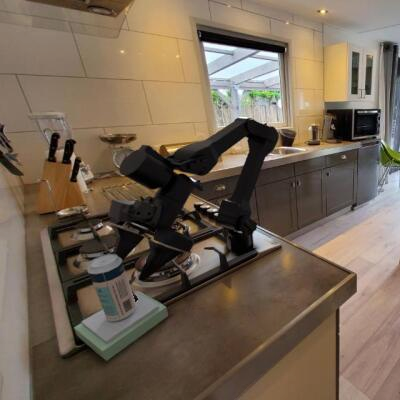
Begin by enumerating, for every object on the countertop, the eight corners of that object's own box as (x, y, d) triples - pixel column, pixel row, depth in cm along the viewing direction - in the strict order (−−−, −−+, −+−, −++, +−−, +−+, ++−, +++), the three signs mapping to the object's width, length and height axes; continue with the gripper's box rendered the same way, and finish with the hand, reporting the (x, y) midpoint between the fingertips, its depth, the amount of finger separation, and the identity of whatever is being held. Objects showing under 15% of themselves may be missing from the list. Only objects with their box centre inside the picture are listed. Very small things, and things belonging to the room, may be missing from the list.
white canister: (138, 300, 51) (122, 250, 47) (136, 316, 47) (118, 263, 43) (109, 308, 49) (89, 256, 44) (103, 326, 45) (81, 272, 41)
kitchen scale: (142, 297, 56) (138, 286, 55) (170, 314, 52) (167, 302, 51) (78, 336, 47) (72, 324, 45) (106, 361, 42) (100, 347, 41)
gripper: (106, 173, 50) (53, 248, 44) (166, 189, 42) (109, 282, 37) (155, 198, 59) (116, 262, 54) (211, 214, 51) (171, 291, 46)
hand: (126, 272), depth 47 cm, fingers open, 9 cm apart
